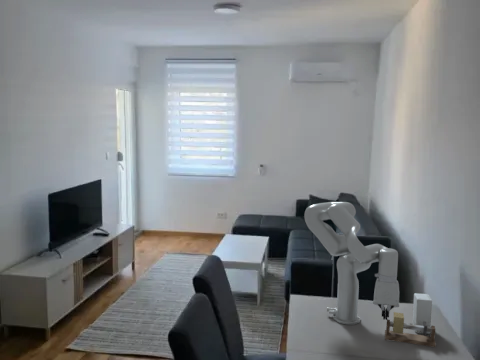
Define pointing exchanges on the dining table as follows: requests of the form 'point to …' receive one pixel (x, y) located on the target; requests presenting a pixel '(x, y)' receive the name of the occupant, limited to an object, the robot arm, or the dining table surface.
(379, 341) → the dining table surface
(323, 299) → the dining table surface
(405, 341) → the rod stand
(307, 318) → the dining table surface
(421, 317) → the skincare box
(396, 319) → the yellow rectangular block
